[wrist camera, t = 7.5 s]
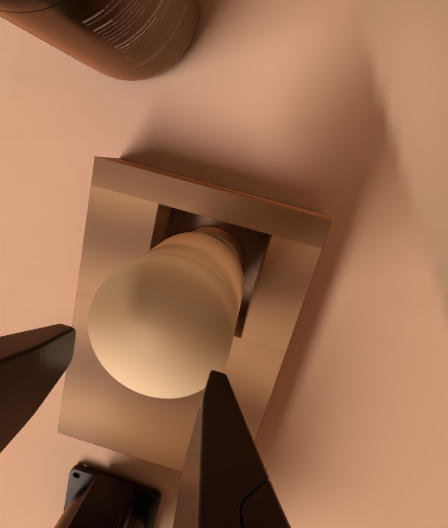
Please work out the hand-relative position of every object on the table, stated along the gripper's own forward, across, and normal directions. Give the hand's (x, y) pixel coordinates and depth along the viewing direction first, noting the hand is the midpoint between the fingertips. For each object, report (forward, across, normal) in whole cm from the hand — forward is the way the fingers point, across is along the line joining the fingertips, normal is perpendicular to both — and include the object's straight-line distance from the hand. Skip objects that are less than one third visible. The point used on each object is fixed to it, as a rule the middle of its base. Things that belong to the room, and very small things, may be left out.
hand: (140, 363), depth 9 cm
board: (+10, 0, +4) cm, 11 cm away
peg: (+10, 0, 0) cm, 10 cm away
